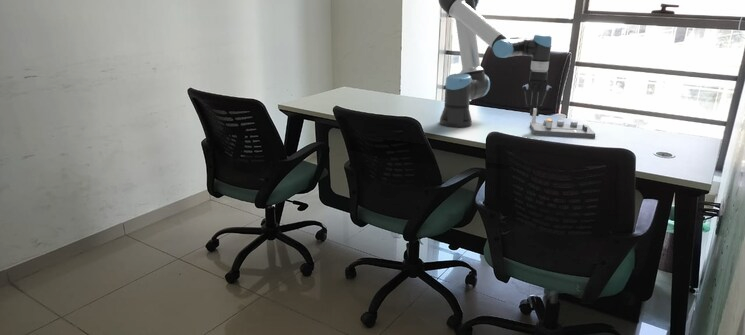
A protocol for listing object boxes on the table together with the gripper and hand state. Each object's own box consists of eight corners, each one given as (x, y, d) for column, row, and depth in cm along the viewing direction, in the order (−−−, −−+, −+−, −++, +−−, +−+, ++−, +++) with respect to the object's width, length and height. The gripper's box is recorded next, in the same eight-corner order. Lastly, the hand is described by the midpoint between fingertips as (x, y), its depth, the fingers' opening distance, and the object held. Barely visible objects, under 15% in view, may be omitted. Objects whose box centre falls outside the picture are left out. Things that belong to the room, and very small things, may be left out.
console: (533, 134, 238) (534, 125, 236) (529, 126, 252) (530, 118, 251) (594, 138, 233) (596, 129, 232) (587, 129, 248) (588, 121, 247)
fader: (546, 128, 240) (547, 120, 238) (545, 125, 243) (546, 118, 242) (551, 128, 239) (552, 121, 238) (550, 126, 243) (551, 118, 242)
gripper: (524, 71, 232) (519, 123, 239) (555, 72, 230) (549, 125, 237) (523, 69, 239) (517, 120, 246) (553, 70, 237) (547, 121, 244)
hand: (533, 122), depth 242 cm, fingers closed
